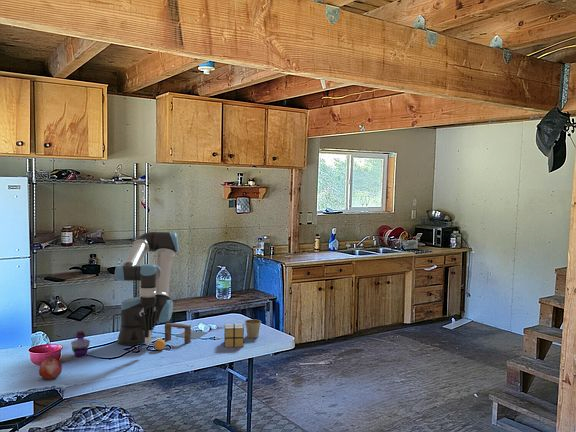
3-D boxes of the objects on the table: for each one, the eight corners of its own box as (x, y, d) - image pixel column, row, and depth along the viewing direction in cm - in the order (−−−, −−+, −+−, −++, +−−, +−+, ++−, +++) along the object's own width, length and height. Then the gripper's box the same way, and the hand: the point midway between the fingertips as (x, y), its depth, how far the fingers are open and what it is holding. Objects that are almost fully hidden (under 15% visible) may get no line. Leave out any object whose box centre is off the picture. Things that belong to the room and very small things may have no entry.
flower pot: (260, 339, 281) (260, 323, 281) (243, 338, 281) (243, 323, 281) (261, 334, 290) (261, 319, 290) (245, 334, 290) (245, 319, 290)
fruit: (49, 373, 226) (48, 350, 225) (66, 375, 223) (66, 353, 222) (33, 380, 217) (33, 357, 216) (51, 383, 214) (51, 359, 214)
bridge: (187, 343, 271) (187, 326, 270) (164, 340, 276) (164, 323, 275) (190, 342, 273) (190, 325, 273) (168, 339, 279) (168, 322, 278)
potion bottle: (67, 356, 247) (66, 332, 246) (80, 351, 255) (80, 328, 254) (80, 359, 244) (80, 334, 243) (93, 354, 252) (93, 330, 251)
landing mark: (175, 336, 284) (175, 335, 284) (188, 330, 296) (188, 330, 296) (195, 339, 279) (195, 338, 279) (207, 333, 291) (207, 332, 291)
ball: (152, 350, 258) (152, 340, 258) (158, 347, 263) (158, 337, 263) (161, 352, 256) (161, 341, 256) (167, 349, 261) (167, 338, 261)
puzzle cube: (224, 341, 275) (224, 323, 275) (243, 341, 277) (243, 323, 276) (224, 347, 266) (224, 328, 265) (243, 347, 267) (243, 328, 266)
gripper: (146, 298, 242) (146, 347, 243) (162, 294, 254) (162, 340, 255) (133, 297, 245) (133, 346, 246) (150, 293, 257) (150, 339, 258)
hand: (148, 343), depth 250 cm, fingers closed
